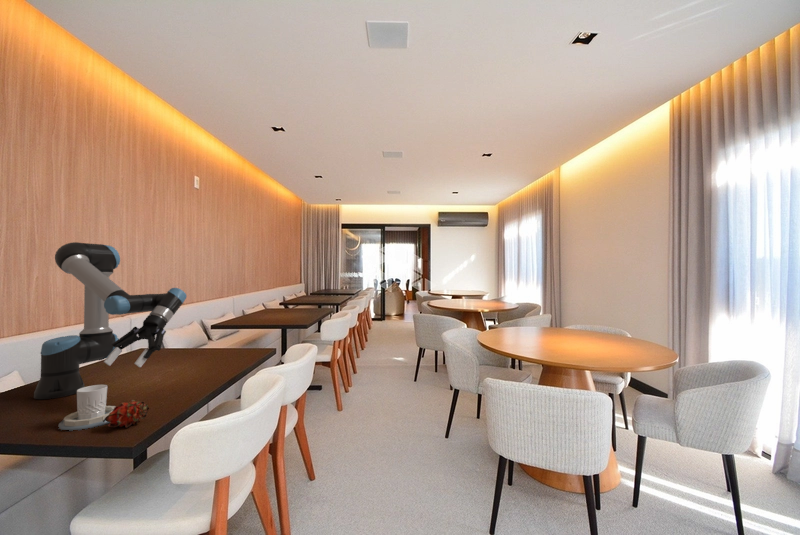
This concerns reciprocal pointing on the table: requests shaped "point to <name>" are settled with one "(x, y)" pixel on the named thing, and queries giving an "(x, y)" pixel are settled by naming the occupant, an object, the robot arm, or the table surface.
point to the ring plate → (84, 421)
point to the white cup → (91, 401)
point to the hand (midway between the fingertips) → (121, 364)
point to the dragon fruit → (127, 414)
